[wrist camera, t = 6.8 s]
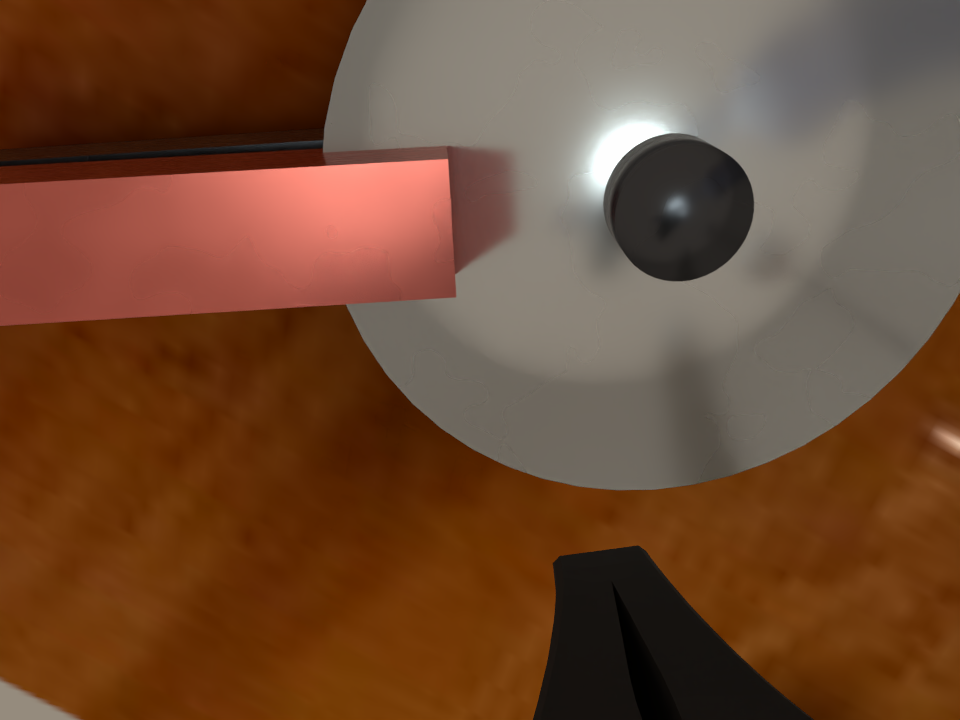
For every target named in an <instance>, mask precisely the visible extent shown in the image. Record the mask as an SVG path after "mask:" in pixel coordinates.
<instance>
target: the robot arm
mask: <svg viewBox="0 0 960 720" xmlns="http://www.w3.org/2000/svg"><path fill="white" fill-rule="evenodd" d="M553 568H554V577H555V587H556V604H555V616H554V624H553V631H552V637H551V644H550V650H549V656H548V661H547V666H546V670H545V674H544V679H543V683H542V687H541V691H540V695H539V700H538V704H537V707H536V711H535V714H534V718H533V720H814V719H812V718H811V717H810V716H808V715H807V714H806V713H805V712H803V711H802V710H801V709H800V708H798V707H797V706H796V705H795V704H793V703H792V702H791V701H790V700H788V699H787V698H786V697H785V696H784V695H782V694H781V693H780V692H779V691H778V690H777V689H775V688H774V687H773V686H772V685H771V684H770V683H769V682H767V681H766V680H765V679H764V678H763V677H762V676H761V675H760V674H758V673H757V672H756V671H755V670H754V669H753V668H752V667H751V666H750V665H749V664H748V663H747V662H745V661H744V660H743V659H742V658H741V657H740V656H739V655H738V654H737V653H736V652H735V651H734V650H733V649H732V648H731V647H730V646H729V645H728V644H727V643H726V642H725V641H724V640H723V639H722V638H721V637H720V636H719V635H718V634H717V633H716V632H715V631H714V630H713V629H712V628H711V627H710V626H709V625H708V624H707V623H706V622H705V621H704V620H703V619H702V618H701V616H700V615H699V614H698V613H697V612H696V611H695V610H694V609H693V608H692V607H691V606H690V605H689V603H688V602H687V601H686V600H685V599H684V598H683V597H682V595H681V594H680V593H679V592H678V591H677V590H676V589H675V587H674V586H673V585H672V584H671V583H670V581H669V580H668V579H667V578H666V577H665V575H664V574H663V573H662V572H661V570H660V569H659V568H658V567H657V565H656V564H655V563H654V561H653V560H652V559H651V558H650V556H649V555H648V553H647V552H646V551H645V550H644V549H642V548H641V547H640V546H632V547H624V548H617V549H609V550H602V551H594V552H587V553H579V554H572V555H564V556H559V557H558V559H557V560H556V561H555V562H554V563H553Z"/></svg>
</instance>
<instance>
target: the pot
mask: <svg viewBox="0 0 960 720" xmlns="http://www.w3.org/2000/svg"><path fill="white" fill-rule="evenodd" d="M323 141H324V128H321V129H306V130H291V131H276V132H260V133H245V134H230V135H215V136H200V137H184V138H169V139H154V140H139V141H124V142H108V143H93V144H78V145H63V146H48V147H32V148H17V149H2V150H0V167H1V166H19V165H37V164H55V163H73V162H91V161H108V160H126V159H144V158H162V157H180V156H198V155H216V154H234V153H252V152H270V151H288V150H306V149H323Z"/></svg>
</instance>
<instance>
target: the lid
mask: <svg viewBox="0 0 960 720" xmlns="http://www.w3.org/2000/svg"><path fill="white" fill-rule="evenodd" d="M959 292H960V0H367V2H366V4H365V6H364V7H363V9H362V11H361V13H360V15H359V17H358V19H357V21H356V23H355V25H354V27H353V29H352V31H351V34H350V37H349V40H348V42H347V45H346V48H345V51H344V54H343V57H342V60H341V62H340V65H339V68H338V71H337V74H336V77H335V80H334V84H333V89H332V94H331V99H330V103H329V108H328V113H327V118H326V123H325V128H324V141H323V149H306V150H288V151H270V152H252V153H234V154H216V155H198V156H180V157H162V158H144V159H126V160H108V161H91V162H73V163H55V164H37V165H19V166H1V167H0V326H4V325H20V324H36V323H52V322H68V321H84V320H100V319H117V318H133V317H149V316H165V315H181V314H197V313H213V312H229V311H245V310H262V309H278V308H294V307H310V306H326V305H342V304H346V306H347V308H348V310H349V312H350V314H351V316H352V318H353V320H354V322H355V324H356V326H357V328H358V330H359V332H360V334H361V336H362V338H363V340H364V342H365V343H366V345H367V346H368V348H369V349H370V351H371V352H372V354H373V355H374V357H375V358H376V360H377V361H378V362H379V364H380V365H381V367H382V368H383V370H384V371H385V373H386V374H387V375H388V377H389V378H390V379H391V380H392V381H393V382H394V383H395V384H396V386H397V387H398V388H399V389H400V390H401V391H402V392H403V393H404V395H405V396H406V397H407V398H408V399H409V400H410V401H411V402H412V404H414V405H415V406H416V407H417V408H418V409H419V410H421V411H422V412H423V413H424V414H425V415H426V416H427V417H429V418H430V419H431V420H432V421H433V422H434V423H436V424H437V425H438V426H439V427H440V428H441V429H443V430H444V431H446V432H447V433H449V434H450V435H452V436H453V437H455V438H456V439H458V440H459V441H461V442H462V443H464V444H465V445H467V446H469V447H470V448H472V449H473V450H475V451H477V452H479V453H481V454H483V455H485V456H487V457H489V458H491V459H493V460H495V461H497V462H499V463H501V464H503V465H505V466H508V467H511V468H514V469H516V470H519V471H522V472H525V473H528V474H531V475H534V476H537V477H539V478H542V479H547V480H552V481H556V482H561V483H565V484H570V485H574V486H580V487H590V488H600V489H610V490H654V489H662V488H670V487H678V486H686V485H693V484H697V483H702V482H706V481H710V480H714V479H718V478H723V477H727V476H731V475H733V474H736V473H739V472H742V471H745V470H748V469H750V468H753V467H756V466H759V465H762V464H765V463H767V462H769V461H771V460H774V459H776V458H778V457H780V456H782V455H784V454H786V453H788V452H790V451H792V450H795V449H797V448H799V447H801V446H803V445H805V444H806V443H808V442H810V441H811V440H813V439H814V438H816V437H818V436H819V435H821V434H823V433H824V432H826V431H828V430H829V429H831V428H833V427H834V426H836V425H837V424H839V423H840V422H841V421H843V420H844V419H845V418H847V417H848V416H849V415H851V414H852V413H853V412H855V411H856V410H857V409H859V408H860V407H861V406H862V405H864V404H865V403H866V402H868V401H869V400H870V399H871V398H872V397H874V396H875V395H876V394H877V393H878V392H879V391H880V390H881V389H882V388H883V387H884V386H885V385H886V384H887V383H889V382H890V381H891V380H892V379H893V378H894V377H895V376H896V375H897V374H898V373H899V372H900V371H901V370H902V369H903V368H904V367H905V366H906V364H907V363H908V362H909V361H910V360H911V359H912V357H913V356H914V355H915V354H916V353H917V352H918V351H919V349H920V348H921V347H922V346H923V345H924V344H925V342H926V341H927V340H928V339H929V338H930V336H931V335H932V333H933V332H934V330H935V329H936V328H937V326H938V325H939V323H940V322H941V320H942V319H943V318H944V316H945V315H946V313H947V312H948V310H949V309H950V308H951V306H952V305H953V303H954V301H955V300H956V298H957V296H958V294H959Z"/></svg>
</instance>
